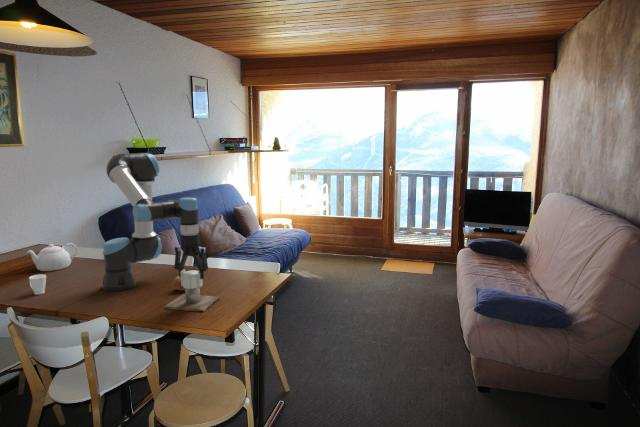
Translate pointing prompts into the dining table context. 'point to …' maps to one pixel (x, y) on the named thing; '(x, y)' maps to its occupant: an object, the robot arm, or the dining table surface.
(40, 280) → the cup
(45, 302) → the dining table surface
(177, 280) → the apple
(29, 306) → the dining table surface
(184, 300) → the bottle on square board
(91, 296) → the dining table surface
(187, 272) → the cap
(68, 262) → the teapot
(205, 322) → the dining table surface
